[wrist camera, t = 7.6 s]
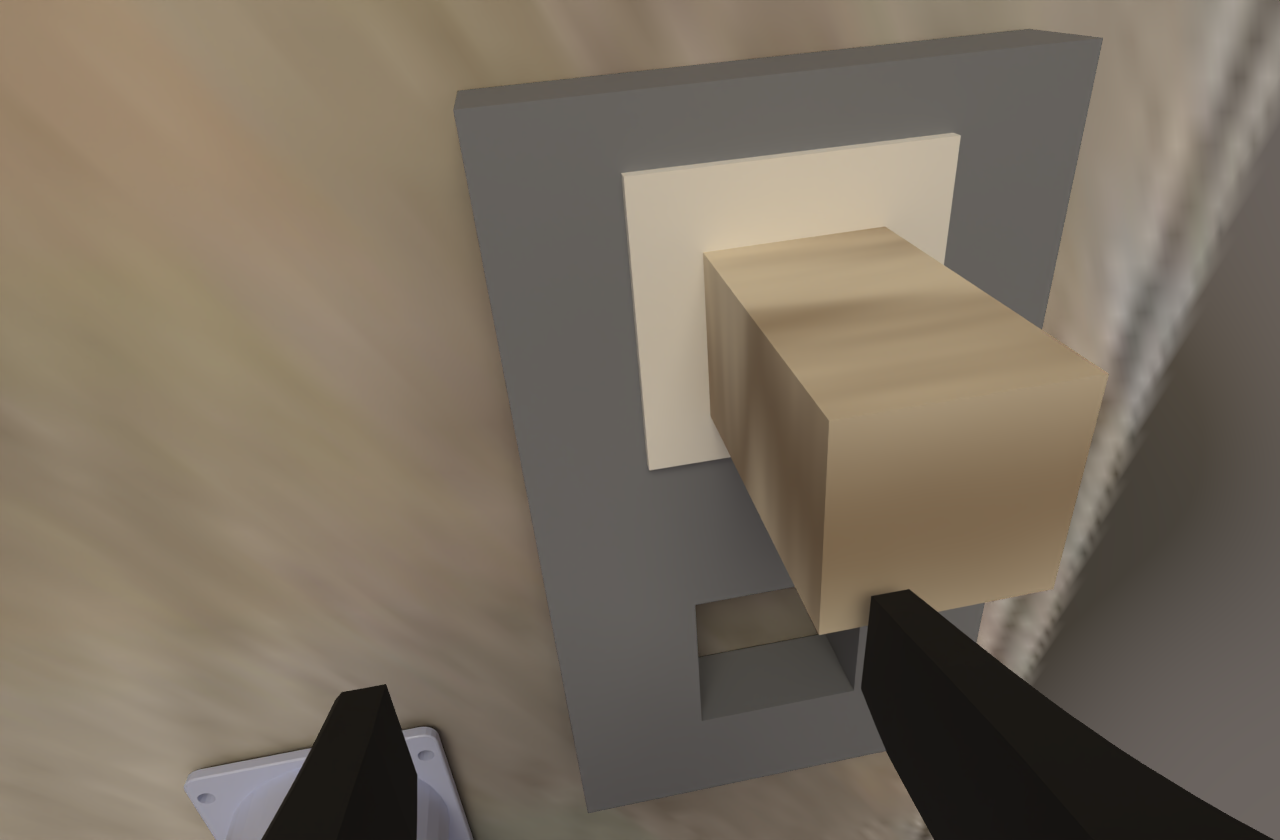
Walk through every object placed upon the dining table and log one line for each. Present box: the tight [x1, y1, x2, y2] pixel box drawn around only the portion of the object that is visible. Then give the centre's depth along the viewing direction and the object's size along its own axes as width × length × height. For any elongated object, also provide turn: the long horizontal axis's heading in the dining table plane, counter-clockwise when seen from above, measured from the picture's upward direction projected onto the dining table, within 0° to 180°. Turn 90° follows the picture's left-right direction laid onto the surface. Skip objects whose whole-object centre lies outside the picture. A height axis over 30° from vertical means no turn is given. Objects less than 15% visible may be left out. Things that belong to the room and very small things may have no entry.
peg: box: [703, 227, 1109, 635], centre depth 14 cm, size 4×4×7 cm
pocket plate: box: [453, 29, 1103, 813], centre depth 22 cm, size 22×13×3 cm, turn 4°
